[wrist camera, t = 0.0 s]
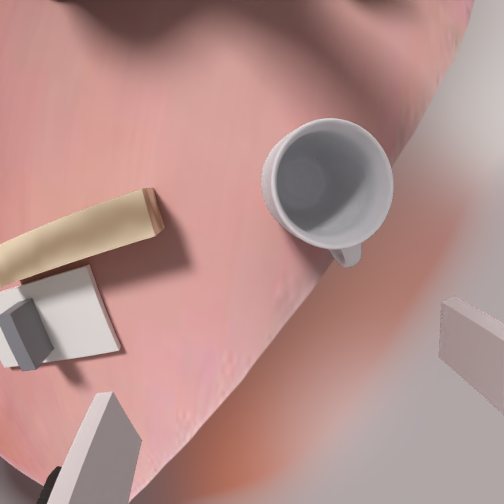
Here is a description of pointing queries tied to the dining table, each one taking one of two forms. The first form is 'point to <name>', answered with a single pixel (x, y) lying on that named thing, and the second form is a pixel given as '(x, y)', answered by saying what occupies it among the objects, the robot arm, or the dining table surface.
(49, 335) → the fulcrum
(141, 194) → the wooden beam
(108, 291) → the dining table surface
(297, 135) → the mug
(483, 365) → the robot arm
